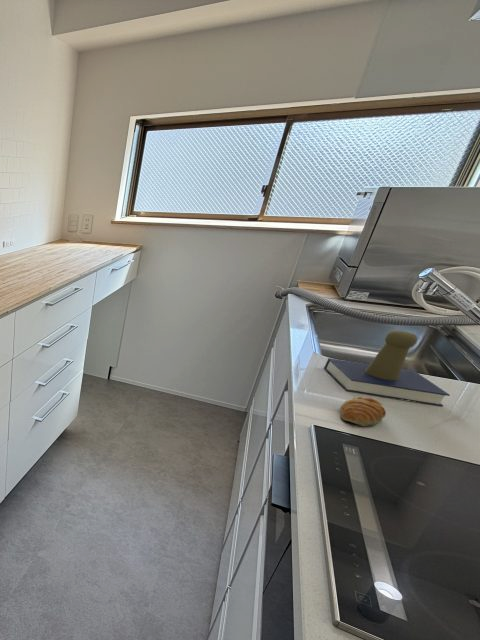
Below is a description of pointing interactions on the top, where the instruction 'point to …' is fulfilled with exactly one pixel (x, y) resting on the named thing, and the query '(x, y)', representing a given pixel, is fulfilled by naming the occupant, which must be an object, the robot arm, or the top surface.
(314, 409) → the top surface
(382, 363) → the cork
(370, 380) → the book
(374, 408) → the pastry
